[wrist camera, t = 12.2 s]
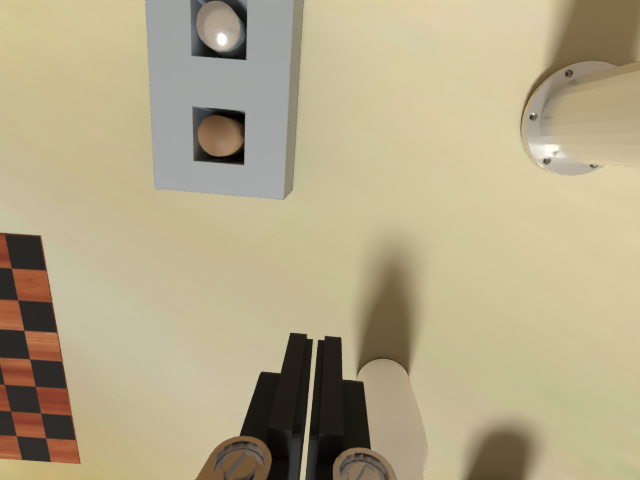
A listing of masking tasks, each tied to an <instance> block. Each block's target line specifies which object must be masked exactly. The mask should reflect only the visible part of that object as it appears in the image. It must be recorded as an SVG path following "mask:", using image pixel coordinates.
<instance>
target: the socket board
mask: <svg viewBox="0 0 640 480" xmlns="http://www.w3.org/2000/svg"><path fill="white" fill-rule="evenodd" d="M210 1H221V2H224V3H226V4H227V5H229V6H230V7H231V8H232V9H233V11H234V12H235V13H236V15H237V16H238V17H239V18H240V20H241V21H242V22H243V23H247V54H246V60H236V59H224V58H218V53H217V52H215V51H214V50H213V49H211V48H210V47H209V46H208V45H206V44H205V43H204V42H203V41H202V40H201V38H200V37H199V35H198V32H197V28H196V18H197V15H198V12H199V10H200V9H201V8H202V6H203V5H205V4H206V3H208V2H210ZM303 1H304V0H145V6H146V26H147V46H148V66H149V86H150V106H151V126H152V146H153V166H154V186H155V189H162V190H174V191H185V192H197V193H208V194H220V195H232V196H243V197H255V198H266V199H278V200H284V199H285V198H286V197H287V196H288V195H289V194H290V192H291V191H292V190H293V175H294V157H295V140H296V123H297V105H298V88H299V71H300V53H301V36H302V19H303ZM218 113H226V114H238V115H245V156H244V160H238V159H226V158H218V156H213V155H210V154H209V153H207V152H206V151H205V150H204V149H203V148H202V147H201V145H200V143H199V140H198V129H199V126H200V124H201V123H202V121H203V120H204V119H206V118H207V117H209V116H214V115H218Z"/></svg>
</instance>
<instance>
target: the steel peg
mask: <svg viewBox="0 0 640 480" xmlns="http://www.w3.org/2000/svg"><path fill="white" fill-rule="evenodd" d="M196 28H197V32H198V35H199V37H200V38H201V40H202V41H203V42H204V43H205V44H206V45H208V46H209V47H210V48H211V49H213V50H214V51H215V52H217V53H218V54H219V55H221V56H222V57H223V58H225V59H236V60H246V54H247V27H246V26H245V25H244V24H243V22H242V21H241V20H240V18H239V17H238V16H237V15H236V13H235V12H234V11H233V9H232V8H231V7H230V6H229V5H227V4H226V3H224V2H221V1H210V2H208V3H206V4H205V5H203V6H202V8H201V9H200V10H199V12H198V15H197V18H196Z"/></svg>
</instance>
